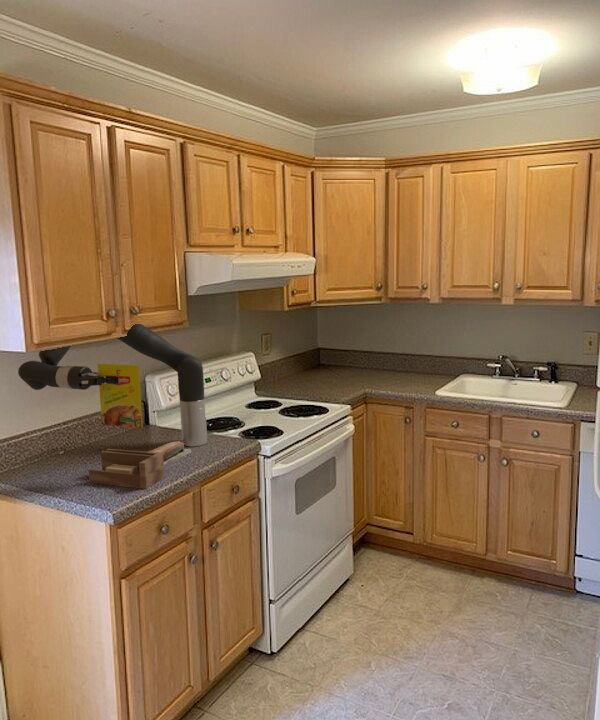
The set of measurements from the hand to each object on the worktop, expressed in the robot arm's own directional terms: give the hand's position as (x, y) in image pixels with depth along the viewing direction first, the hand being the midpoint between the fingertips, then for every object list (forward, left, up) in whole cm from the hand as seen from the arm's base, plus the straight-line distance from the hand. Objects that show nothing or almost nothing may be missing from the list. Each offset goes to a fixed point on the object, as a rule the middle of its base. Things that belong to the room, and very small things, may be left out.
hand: (118, 379), depth 187 cm
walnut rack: (+3, +3, -32) cm, 32 cm away
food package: (0, 0, -15) cm, 15 cm away
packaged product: (-19, +3, -32) cm, 38 cm away
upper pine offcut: (+4, +2, -30) cm, 30 cm away
